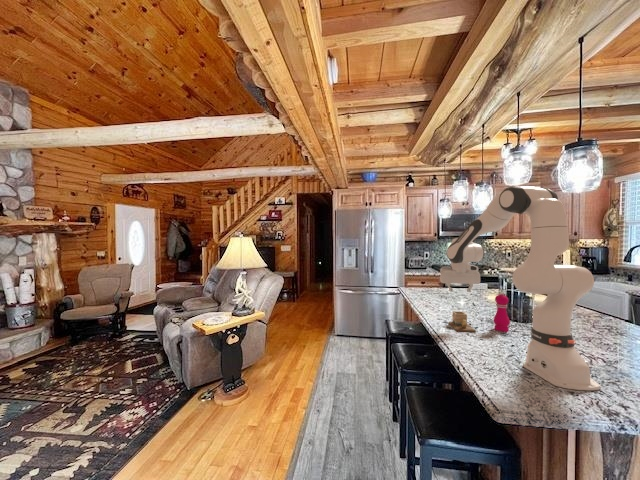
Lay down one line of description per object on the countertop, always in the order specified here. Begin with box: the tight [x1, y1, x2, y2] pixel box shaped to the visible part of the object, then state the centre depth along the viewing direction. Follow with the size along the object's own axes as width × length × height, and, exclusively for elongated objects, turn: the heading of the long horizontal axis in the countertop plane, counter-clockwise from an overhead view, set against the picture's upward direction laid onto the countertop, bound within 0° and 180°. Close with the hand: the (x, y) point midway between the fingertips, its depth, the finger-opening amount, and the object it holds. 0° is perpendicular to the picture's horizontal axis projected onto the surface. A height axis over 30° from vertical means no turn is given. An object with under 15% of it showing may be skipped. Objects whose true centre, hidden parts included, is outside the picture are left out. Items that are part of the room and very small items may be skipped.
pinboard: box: [448, 320, 477, 333], centre depth 154 cm, size 14×9×5 cm, turn 172°
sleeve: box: [452, 310, 468, 326], centre depth 157 cm, size 6×6×6 cm
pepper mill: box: [493, 291, 511, 333], centre depth 150 cm, size 7×7×20 cm
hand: (459, 291), depth 157 cm, fingers open, 8 cm apart
